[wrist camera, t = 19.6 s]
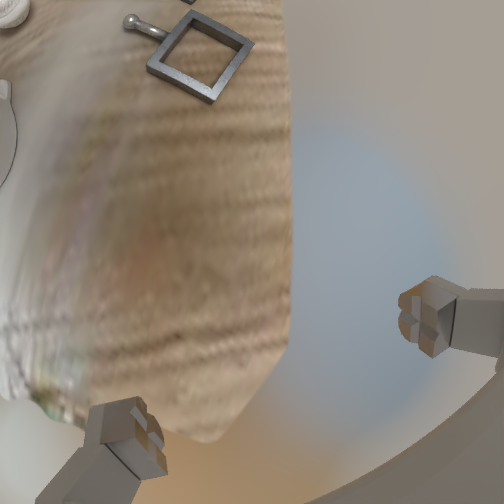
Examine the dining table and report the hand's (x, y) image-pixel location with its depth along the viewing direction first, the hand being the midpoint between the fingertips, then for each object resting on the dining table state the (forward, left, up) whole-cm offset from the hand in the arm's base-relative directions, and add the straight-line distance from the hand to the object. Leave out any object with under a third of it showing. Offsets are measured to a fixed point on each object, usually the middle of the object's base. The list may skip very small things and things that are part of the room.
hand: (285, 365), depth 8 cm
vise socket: (-12, +17, -29) cm, 36 cm away
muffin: (-37, +13, -29) cm, 49 cm away
